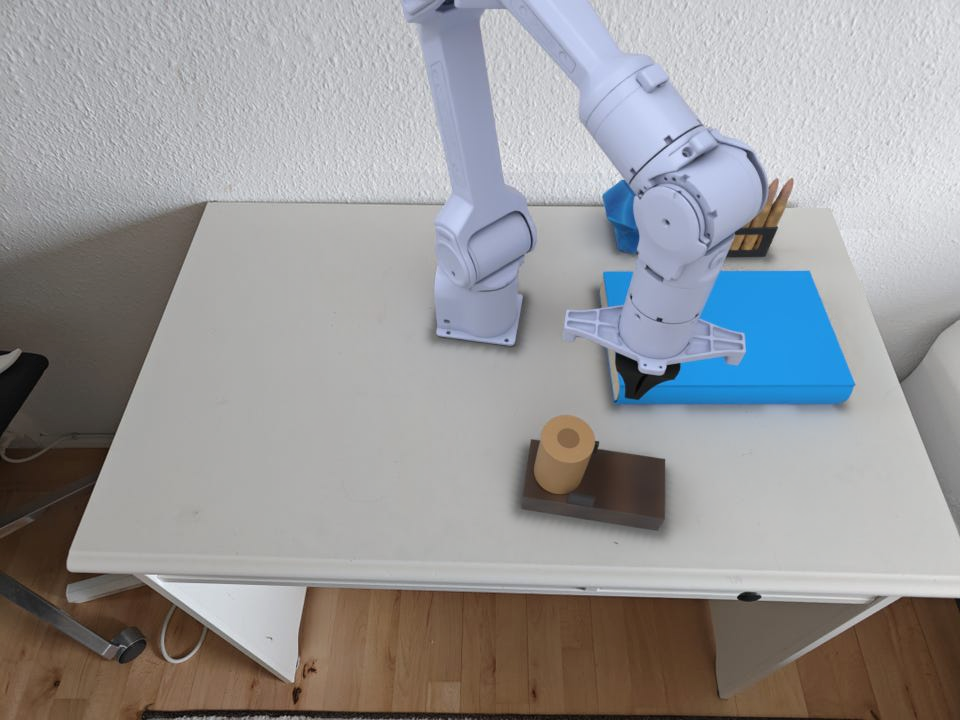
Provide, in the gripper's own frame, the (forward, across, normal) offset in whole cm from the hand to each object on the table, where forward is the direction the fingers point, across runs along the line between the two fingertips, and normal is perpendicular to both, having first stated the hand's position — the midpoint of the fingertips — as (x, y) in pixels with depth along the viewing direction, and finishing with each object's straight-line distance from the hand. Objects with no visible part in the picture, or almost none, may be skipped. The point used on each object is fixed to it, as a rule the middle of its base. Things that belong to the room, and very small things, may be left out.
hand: (632, 390), depth 59 cm
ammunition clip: (+10, +13, +31) cm, 35 cm away
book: (+10, +11, +15) cm, 21 cm away
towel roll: (+4, -3, -6) cm, 8 cm away
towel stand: (+10, -2, -6) cm, 12 cm away
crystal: (+11, 0, +31) cm, 33 cm away
